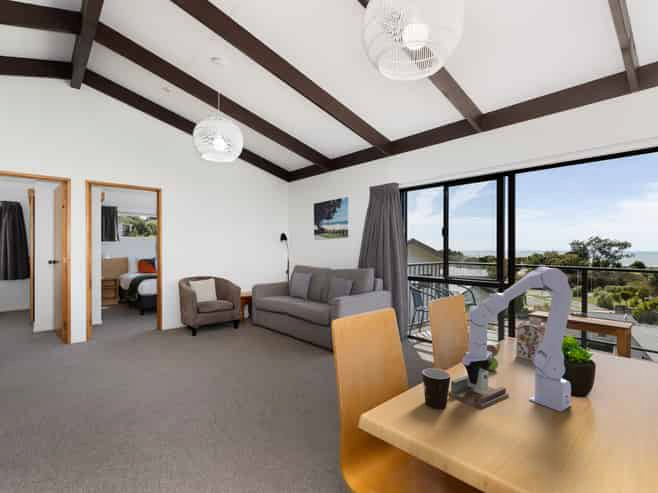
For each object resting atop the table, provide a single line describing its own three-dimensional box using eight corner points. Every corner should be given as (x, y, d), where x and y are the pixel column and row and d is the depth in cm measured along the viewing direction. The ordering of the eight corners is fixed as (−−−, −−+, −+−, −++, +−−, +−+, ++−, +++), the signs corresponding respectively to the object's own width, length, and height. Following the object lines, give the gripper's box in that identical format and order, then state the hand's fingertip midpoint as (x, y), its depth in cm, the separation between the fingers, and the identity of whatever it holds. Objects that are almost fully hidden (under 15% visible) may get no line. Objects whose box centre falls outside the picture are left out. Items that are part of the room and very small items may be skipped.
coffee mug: (425, 396, 115) (426, 366, 115) (452, 402, 110) (453, 371, 110) (415, 410, 105) (416, 378, 105) (444, 418, 100) (445, 384, 100)
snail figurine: (503, 372, 137) (503, 342, 137) (487, 372, 137) (487, 342, 137) (496, 367, 143) (497, 339, 142) (481, 367, 143) (481, 338, 143)
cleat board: (508, 396, 115) (509, 382, 115) (481, 409, 106) (481, 393, 106) (476, 384, 125) (476, 370, 125) (448, 394, 116) (448, 380, 116)
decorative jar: (525, 352, 164) (526, 314, 164) (553, 358, 155) (554, 319, 155) (515, 357, 156) (516, 318, 156) (543, 364, 147) (544, 322, 147)
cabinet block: (489, 389, 114) (490, 371, 114) (482, 391, 112) (483, 373, 112) (474, 383, 119) (474, 366, 119) (467, 385, 117) (468, 368, 117)
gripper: (479, 336, 123) (478, 373, 124) (454, 342, 115) (453, 382, 115) (498, 341, 118) (497, 380, 118) (473, 347, 109) (472, 390, 110)
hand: (477, 382), depth 116 cm, fingers closed on cabinet block, 4 cm apart
